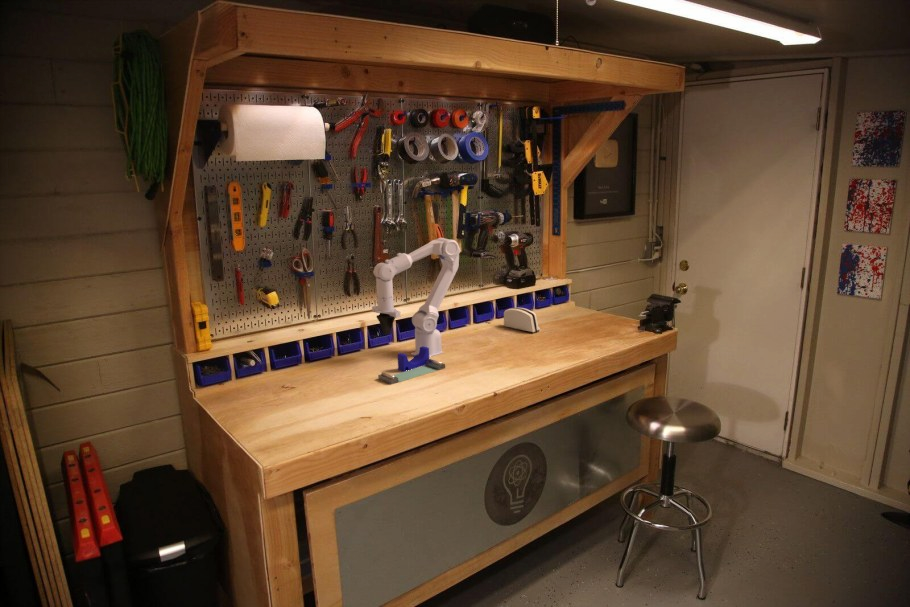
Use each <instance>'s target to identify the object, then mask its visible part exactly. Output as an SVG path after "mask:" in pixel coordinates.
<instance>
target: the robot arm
mask: <svg viewBox="0 0 910 607" xmlns="http://www.w3.org/2000/svg"><path fill="white" fill-rule="evenodd" d="M460 253H461V248H460V246H459V244H458V241H456V240H454V239H448V238H444V237H439V238H436V239H433V240H431V241H430V242H428V243H426V244H425V245H423V246H421V247H418V248H417V249H415V250H413V251H412V252H410V253H404V252H402V253H401V252H398V253H396V256H394V257H392V258H390V259H389V258H387V259H385V260H384V262H379V263H377V264H376V265H375V266H374V269H373V271H372V273H373V275H374V277H375V281H376V282H375V283H376V301H377V305H375V306H372V307H371V309H372V310H371V312H372V313H376V314H378V315H376V318H377V320H378V322H379V324H380V326H381V330H382V333H383V335H385V336H388V335H391V333H392V328H393V324H394V322H395V320H396V319H397V318H401V311H399V310H397V309H396V308H395V307H394V306H395V305H394V303H395V302H394V288H393V287H394V286H393V285H394V284H393V279H394V277H395V275H398V274H400V273H403V271H406V270H408V269H409V268H411V267H412V265H413V263H414V262H417V261H420V260H422V259H424V258H426V257H428V256H430V255H437V257H438V258H439V259H440V261H441V264H442V267H441V269H440V271H439V273H438V275H437V277H436V280H435V282H434V283H433V286H432V288H431V290H430V292H429V294H428V296H427V298H426V301H425V302H424V303H423V304H422V305H421V306H420V307H419V308H418V309H417V311H416V312H415V313H414V314H413V315H412V317H411V323H412V325H413V326H414V340H415V342H414V344H415V345H414V346H415V347H414V348H415V351H414V352H410V354H411V355H412V356H415V355H418V354H419V351H420V347H422V346H424V347H428V348H429V358H431V357H435V356H439V355H441V354H444V351H443V350H442V349H443V348H442V335H441V332H440V330H438V329H437V326H438V324H437V323H438V320H439V316H440V315H439V309H440V307H441V304H442V302H443V300H444V299H445V297H446V294H447V291H448V290H449V288H450V285H451V284H452V281H453V280H454V278H455V276H456V273H457V272H458V269H459V263H460V261H459V260H460Z"/></svg>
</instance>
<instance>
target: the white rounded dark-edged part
mask: <svg viewBox="0 0 910 607" xmlns="http://www.w3.org/2000/svg"><path fill="white" fill-rule="evenodd" d="M503 326H504V327H507V328H511V329H516V330H521V331H527V332H529V333H530V332H532V333H535V332H537V333H540V332H541V328H540V327H539V324H538V319H537V314H536V313H535V312H534V311H532V310H530V309H528V308H524V307H511V308H508V309H506V310H504V312H503Z"/></svg>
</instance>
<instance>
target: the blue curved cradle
mask: <svg viewBox="0 0 910 607" xmlns="http://www.w3.org/2000/svg"><path fill="white" fill-rule="evenodd" d="M429 359H430V357H429V348H428V347H424V346H422V347H420V351H419V354H418V355H413V358H411V360H408V355H407V354H406V353H401V352H400V353H397V368H398V369H397V370H398V371H400V372H405V371H406V370H407V371H408V370H411V369H415V368H419V367H422V366H426V363H425V362H426V361H428V360H429Z"/></svg>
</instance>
